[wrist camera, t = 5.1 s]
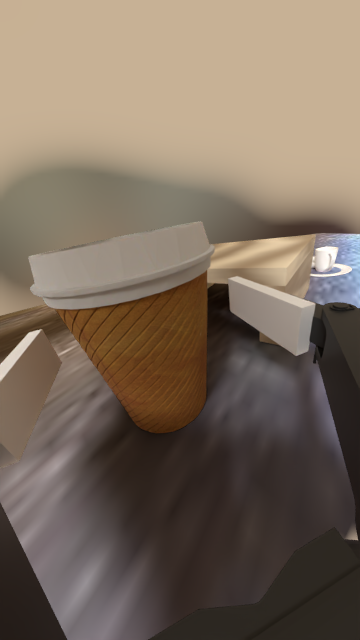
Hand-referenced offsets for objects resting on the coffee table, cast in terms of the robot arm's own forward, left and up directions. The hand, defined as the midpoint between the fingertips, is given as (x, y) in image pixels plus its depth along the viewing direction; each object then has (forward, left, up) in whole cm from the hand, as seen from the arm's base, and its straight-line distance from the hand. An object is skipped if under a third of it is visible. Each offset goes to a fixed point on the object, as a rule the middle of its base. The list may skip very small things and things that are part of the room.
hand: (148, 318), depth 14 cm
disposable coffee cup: (+1, -1, -7) cm, 7 cm away
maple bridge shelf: (-2, +17, -7) cm, 18 cm away
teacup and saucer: (+9, +37, -7) cm, 39 cm away
